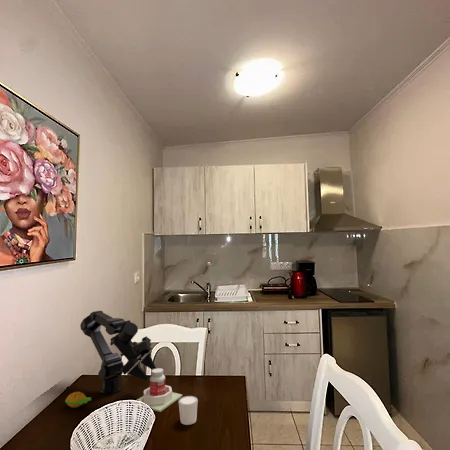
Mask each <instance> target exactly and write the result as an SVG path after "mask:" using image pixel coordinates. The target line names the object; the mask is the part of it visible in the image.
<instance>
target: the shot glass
mask: <svg viewBox="0 0 450 450" xmlns="http://www.w3.org/2000/svg"><path fill="white" fill-rule="evenodd" d="M198 402H199V400H198V397H196V396H193V395H186V396H182V397H181V398H179V399H178V408H179V410H178V411H179V419H180V424H183V425H185V426H189V425H193V424H195V423H196V422H197V420H198V419H197V416H198Z"/></svg>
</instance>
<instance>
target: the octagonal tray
mask: <svg viewBox="0 0 450 450" xmlns="http://www.w3.org/2000/svg"><path fill="white" fill-rule="evenodd" d="M182 397H183V394H181V393H179V392H178V393H177V392H173V390H172V386H170V385H167V384H165V394H164V395H160V396H150V386H149V387H147V388H145V389H144V390H143V396H141V397H139V398H137V399H136V400H139V401H142V402H144V403H146V404H148V405H149V406H150V407H151V408H152V409H153V410H152V411H155V412H159V413H161V412H163V411H164V410H165V409H166V408H168V407H170V406H171V405H172V404H173V403H175V402H176V401H179V399H181V398H182Z"/></svg>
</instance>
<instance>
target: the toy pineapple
mask: <svg viewBox="0 0 450 450" xmlns="http://www.w3.org/2000/svg"><path fill="white" fill-rule="evenodd" d="M64 401H65V404H66V405H67V406H68V407H70V408H72V409H73V408H79V407H80V406H82V405H83V404H88V402H90V401H92V397H89V396H88V397H87V396H86V395H85V394H84V392H81V391H74V392H72V393H70V394H69V395H68V396H67V397H66V398H65V400H64Z"/></svg>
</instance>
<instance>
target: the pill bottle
mask: <svg viewBox="0 0 450 450" xmlns="http://www.w3.org/2000/svg"><path fill="white" fill-rule="evenodd" d="M165 385H166V376H165V374H164V369H163V368H161V367H160V368H157V367H156V369H153V370H152V369H151V376H150V377H149V387H150V396H160V395H164V394H165Z"/></svg>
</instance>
